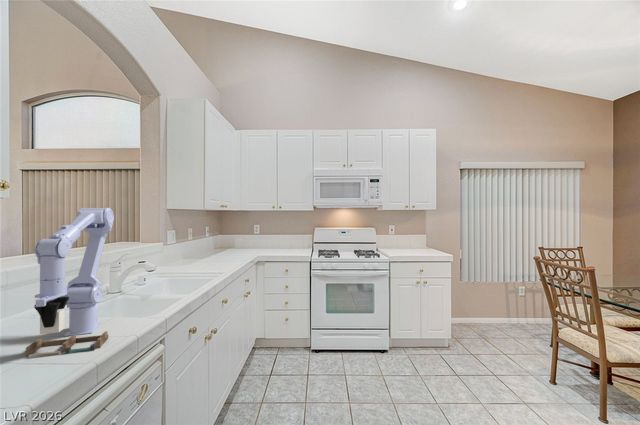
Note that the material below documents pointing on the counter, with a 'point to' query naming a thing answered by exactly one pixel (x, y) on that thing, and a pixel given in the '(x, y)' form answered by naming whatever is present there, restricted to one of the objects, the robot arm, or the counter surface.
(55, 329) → the plug
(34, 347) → the slot rack
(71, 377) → the counter surface
